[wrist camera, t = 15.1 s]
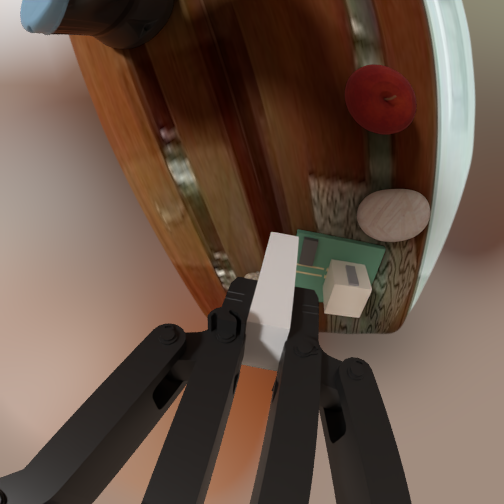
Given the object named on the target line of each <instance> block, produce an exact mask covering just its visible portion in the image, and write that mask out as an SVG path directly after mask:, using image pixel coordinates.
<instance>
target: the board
mask: <svg viewBox="0 0 504 504" xmlns="http://www.w3.org/2000/svg"><path fill="white" fill-rule="evenodd" d="M296 236H298V237H299V242H298V254H297V266H296V277H295V287H301V288H307V289H312V290H315V292H316V294H317V296H318V298H319V302H324V299H323V285H324V282H325V278H326V275H327V272H328V269H329V265H330V262H331V259H334V260H340V261H346V262H351V263H357V264H363V265H365V267H366V270H367V273H368V277H369V280H370V284H371V285H372V283H373V280H374V278H375V276H376V273H377V271H378V268H379V266H380V263H381V261H382V258H383V255H384V253H385V250H386V249H385V247H384V246H381V245H376V244H371V243H366V242H361V241H356V240H351V239H346V238H341V237H336V236H331V235H326V234H321V233H315V232H310V231H304V230H299V229H298V230H297V235H296Z"/></svg>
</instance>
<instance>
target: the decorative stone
mask: <svg viewBox="0 0 504 504" xmlns="http://www.w3.org/2000/svg"><path fill="white" fill-rule="evenodd" d="M429 218H430V206H429V203H428V201H427V200H426V198H425V197H424V196H423V195H422V194H420V193H419V192H416V191H414V190H409V189H386V190H380V191H376V192H374V193H371V194H370V195H368V196H367V197H366V198H364V199H363V201H362V202H361V203H360V205H359V207H358V211H357V220H358V223H359V226H360V227H361V229H362V230H363V231H364V232H365V233H366V234H367V235H368V236H370V237H372V238H374V239H376V240H379V241H385V242H397V241H403V240H407V239H410V238H413V237H415V236H416V235H418V234H419V233H420V232H422V231H423V230H424V228H425V227H426V225H427V224H428V221H429Z"/></svg>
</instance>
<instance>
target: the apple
mask: <svg viewBox="0 0 504 504" xmlns="http://www.w3.org/2000/svg"><path fill="white" fill-rule="evenodd" d="M345 102H346V105H347V108H348V111H349V112H350V114H351V116H352V117H353V118H354V120H355V121H356V122H357V123H358V124H359V125H360V126H362V127H363V128H365V129H366V130H368V131H371V132H374V133H377V134H393V133H398V132H400V131H402V130H404V129H405V128H407V127H408V126H409V125H410V123H411V122H412V120H413V119H414V116H415V113H416V105H417V104H416V97H415V93H414V90H413V88H412V86H411V85H410V83H409V82H408V81H407V79H406V78H405V77H404V76H403V75H401V74H400V73H398V72H397V71H395V70H393V69H391V68H389V67H386V66H382V65H366V66H364V67H361V68H359V69H358V70H356V71H355V72H354V73H353V74H352V75H351V76H350V77H349V79H348V81H347V83H346V87H345Z"/></svg>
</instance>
